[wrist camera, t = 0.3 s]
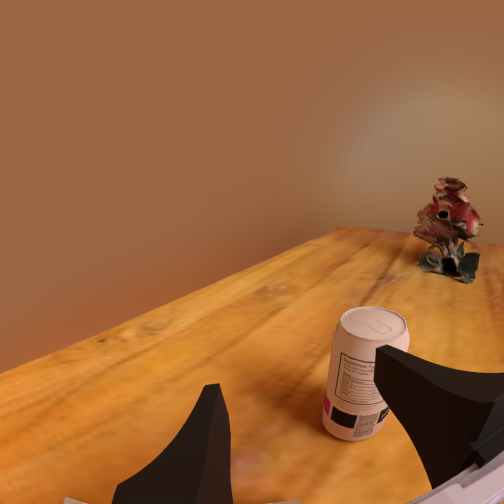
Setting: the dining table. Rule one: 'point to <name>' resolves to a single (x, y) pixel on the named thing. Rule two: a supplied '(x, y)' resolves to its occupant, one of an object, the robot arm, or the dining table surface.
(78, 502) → the pad
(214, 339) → the dining table surface
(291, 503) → the housing plate
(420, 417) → the robot arm
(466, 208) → the rose bouquet
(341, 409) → the supplement can
